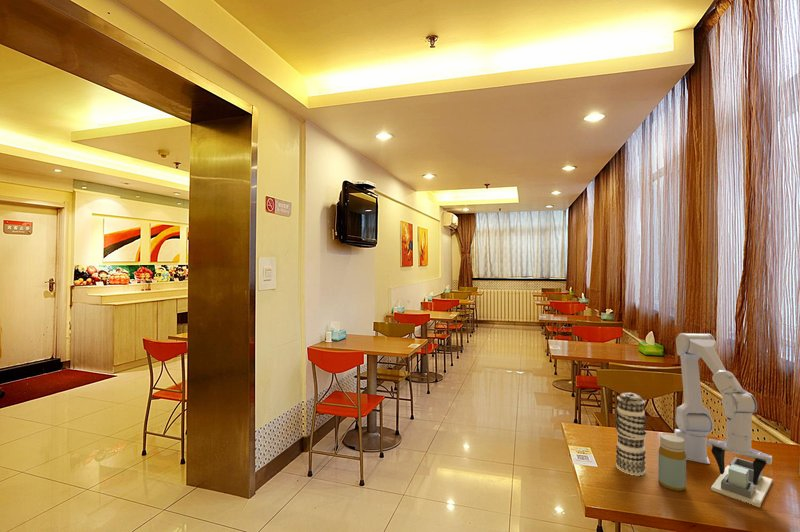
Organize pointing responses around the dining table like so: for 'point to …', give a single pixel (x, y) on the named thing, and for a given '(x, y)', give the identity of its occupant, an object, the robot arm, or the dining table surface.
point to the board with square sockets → (751, 495)
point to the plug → (738, 476)
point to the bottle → (672, 462)
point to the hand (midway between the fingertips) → (738, 478)
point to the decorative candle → (630, 434)
